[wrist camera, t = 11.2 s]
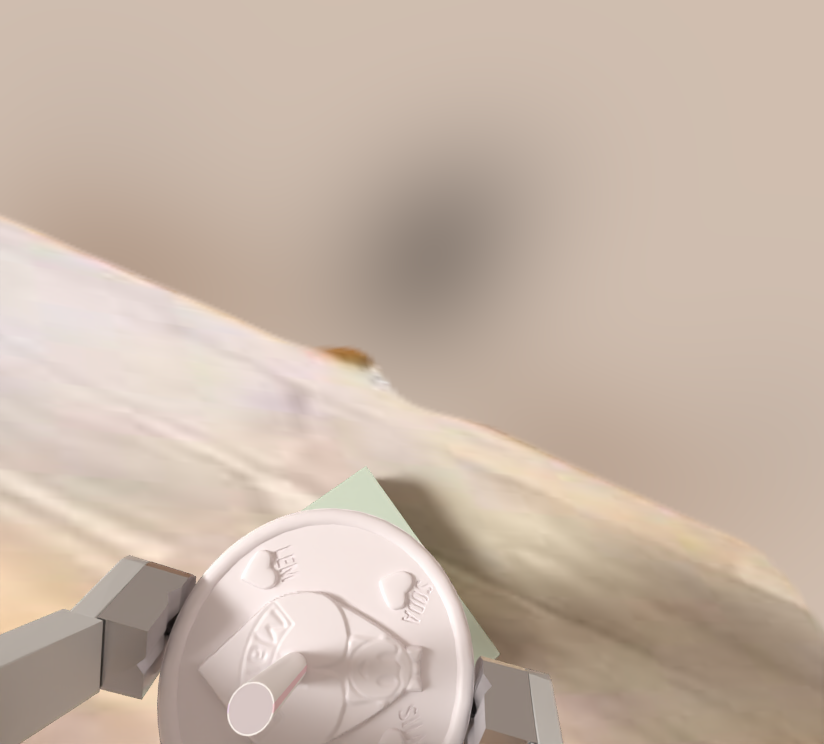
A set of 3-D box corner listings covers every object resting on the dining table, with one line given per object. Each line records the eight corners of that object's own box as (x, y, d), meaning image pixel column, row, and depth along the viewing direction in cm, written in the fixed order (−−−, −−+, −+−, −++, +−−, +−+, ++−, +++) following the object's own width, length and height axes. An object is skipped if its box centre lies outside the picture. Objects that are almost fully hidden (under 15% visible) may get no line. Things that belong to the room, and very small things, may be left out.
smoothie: (264, 545, 20) (95, 443, 7) (424, 548, 20) (531, 459, 8) (238, 742, 17) (-106, 1137, 4) (423, 740, 18) (588, 1089, 5)
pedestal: (485, 648, 26) (500, 654, 23) (303, 818, 22) (295, 847, 20) (365, 478, 29) (366, 465, 26) (188, 603, 26) (168, 602, 23)
